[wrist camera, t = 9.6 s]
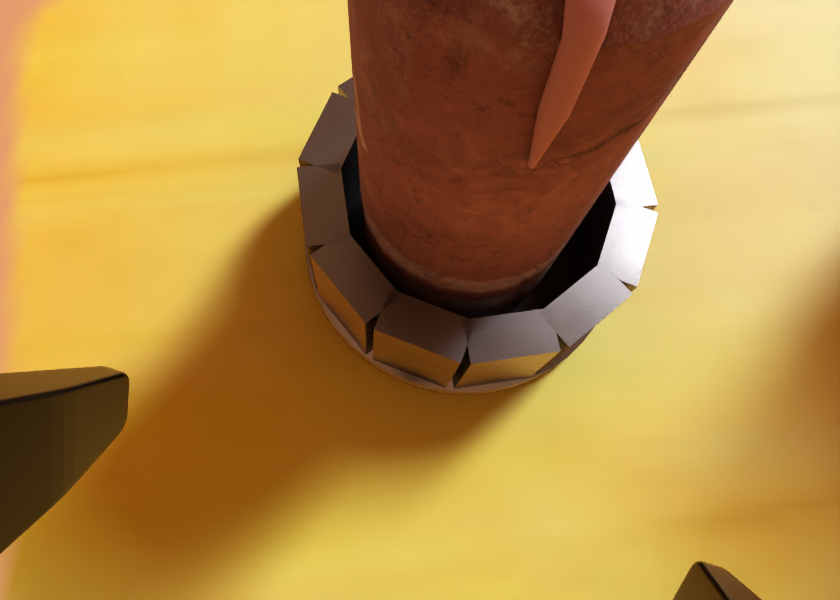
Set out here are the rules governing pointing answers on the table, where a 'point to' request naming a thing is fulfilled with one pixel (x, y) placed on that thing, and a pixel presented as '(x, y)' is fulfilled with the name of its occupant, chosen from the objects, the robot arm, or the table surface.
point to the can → (501, 129)
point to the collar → (446, 331)
